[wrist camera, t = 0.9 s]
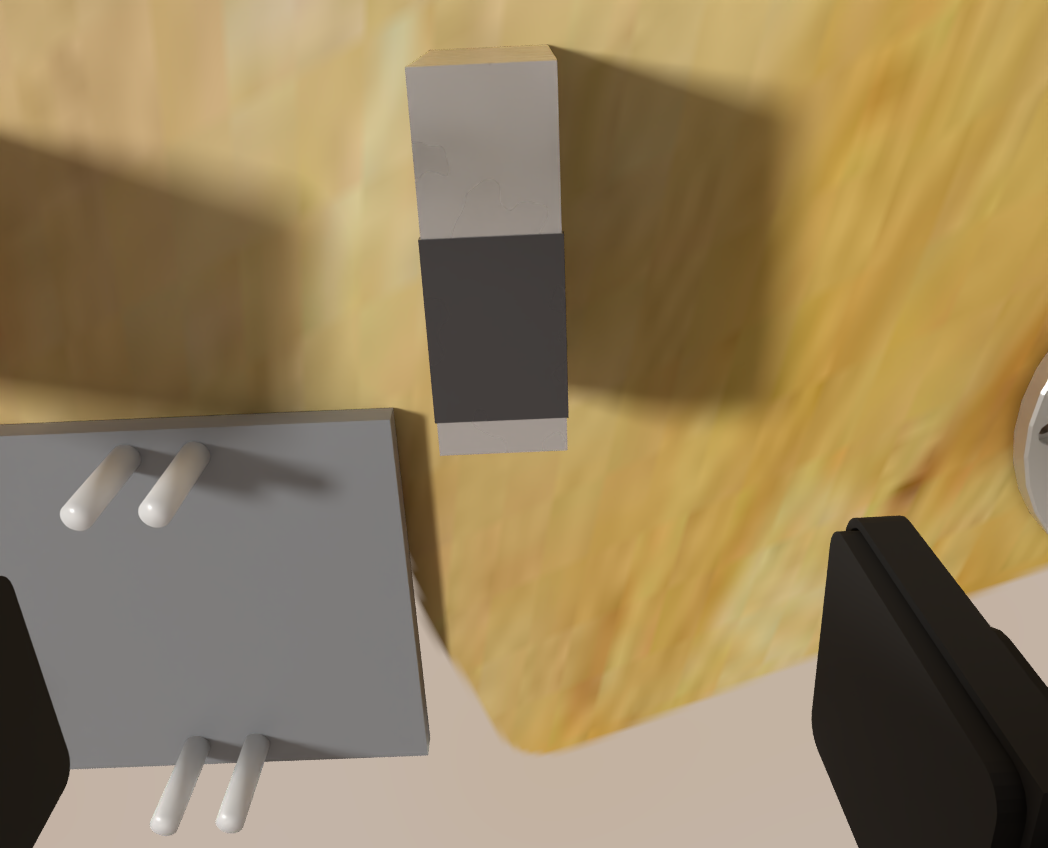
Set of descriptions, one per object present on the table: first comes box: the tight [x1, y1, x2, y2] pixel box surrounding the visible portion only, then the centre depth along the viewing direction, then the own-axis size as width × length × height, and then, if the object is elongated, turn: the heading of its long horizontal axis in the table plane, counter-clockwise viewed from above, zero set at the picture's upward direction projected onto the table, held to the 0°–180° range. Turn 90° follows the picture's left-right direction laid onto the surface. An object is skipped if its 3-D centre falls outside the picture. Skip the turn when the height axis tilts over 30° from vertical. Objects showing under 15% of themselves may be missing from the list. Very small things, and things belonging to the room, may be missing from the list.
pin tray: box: [0, 408, 430, 836], centre depth 34 cm, size 16×15×5 cm
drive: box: [405, 44, 569, 456], centre depth 27 cm, size 4×10×7 cm, turn 2°
